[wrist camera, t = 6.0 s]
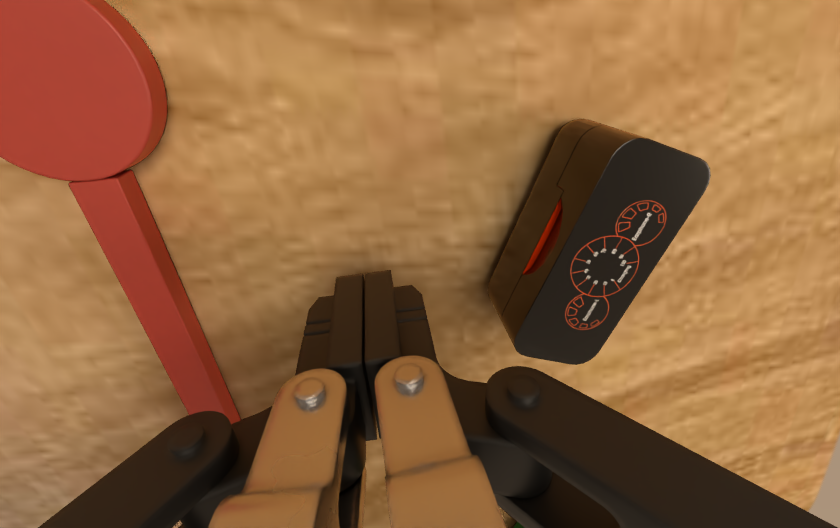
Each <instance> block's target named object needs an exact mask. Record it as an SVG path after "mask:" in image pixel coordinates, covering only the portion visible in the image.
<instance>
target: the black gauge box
mask: <svg viewBox="0 0 840 528" xmlns="http://www.w3.org/2000/svg"><path fill="white" fill-rule="evenodd" d="M710 176H711V175H710V168H709V166H708V164H707V163H706V162H705V161H704V160H702V159H701V158H698V157H696V156H693V155H690V154H688V153H685V152H682V151H680V150H677V149H674V148H672V147H669V146H666V145H664V144H661V143H658V142H656V141H653V140H650V139H647V138H644V137H641V136H638V135H635V134H632V133H629V132H626V131H622V130H619V129H616V128H613V127H610V126H607V125H604V124H601V123H597V122H594V121H591V120H587V119H577V120H572V121H570V122H569V123H567V124H566V125H565V126H564V127H562V129H561V130H560V132H559V133H558V135H557V137H556V139H555V141H554V143H553V145H552V148H551V150H550V152H549V154H548V156H547V158H546V161H545V163H544V165H543V167H542V169H541V171H540V174H539V176H538V178H537V180H536V182H535V184H534V187H533V189H532V191H531V193H530V195H529V197H528V200H527V202H526V204H525V206H524V208H523V210H522V213H521V215H520V217H519V219H518V221H517V223H516V226H515V228H514V230H513V232H512V234H511V236H510V239H509V241H508V243H507V245H506V247H505V249H504V251H503V254H502V256H501V258H500V260H499V262H498V264H497V267H496V269H495V271H494V273H493V275H492V277H491V280H490V282H489V285H488V295H489V297H490V299H491V301H492V303H493V305H494V307H495V309H496V311H497V313H498V315H499V317H500V319H501V321H502V323H503V325H504V327H505V329H506V331H507V333H508V335H509V337H510V339H511V341H512V343H513V345H514V347H515V349H516V351H517V352H519V353H520V354H521V355H524V356H528V357H533V358H539V359H544V360H550V361H555V362H561V363H566V364H575V365H577V364H582V363H585V362H587V361H589V360H591V359H592V358H593V357H595V356H596V354H597V353H598V352H599V351H600V349H601V348H602V346H603V345H604V343H605V342H606V340H607V339H608V337H609V336H610V334H611V333H612V331H613V330H614V328H615V327H616V325H617V324H618V322H619V321H620V319H621V318H622V316H623V314H624V313H625V311H626V310H627V308H628V307H629V305H630V304H631V302H632V301H633V299H634V298H635V296H636V295H637V293H638V292H639V290H640V289H641V287H642V286H643V284H644V283H645V281H646V280H647V278H648V277H649V275H650V274H651V272H652V271H653V269H654V268H655V266H656V265H657V263H658V261H659V260H660V258H661V257H662V255H663V254H664V252H665V251H666V249H667V248H668V246H669V245H670V243H671V242H672V240H673V239H674V237H675V236H676V234H677V233H678V231H679V230H680V228H681V227H682V225H683V224H684V222H685V221H686V219H687V218H688V216H689V215H690V213H691V212H692V210H693V208H694V207H695V205H696V204H697V202H698V201H699V199H700V198H701V196H702V195H703V193H704V192H705V190H706V188H707V186H708V184H709V180H710Z"/></svg>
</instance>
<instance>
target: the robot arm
mask: <svg viewBox="0 0 840 528" xmlns="http://www.w3.org/2000/svg"><path fill="white" fill-rule="evenodd" d="M376 422H377V427H378V432H379V437H380V439H381V440H382V447H383V455H384V463H385V471H386V476H385V482H386V491H387V499H388V507H389V515H390V523H391V528H506V526H505V523H504V521H503V518H502V515H501V512H500V510H499V507H500V508H502V509H503V510H504V511H505V512H506V513H508V514H509V515H510V516H511V517H512V518H514V519H515V520H516V521H517V522H518V523H520V524H521V525H522V526H523V527H525V528H837V527H835V526H833V525H832V524H830V523H828V522H826V521H824V520H822V519H820V518H818V517H816V516H814V515H813V514H810V513H809V512H807V511H805V510H803V509H801V508H799V507H797V506H796V505H794V504H792V503H790V502H788V501H786V500H784V499H782V498H780V497H778V496H777V495H775V494H773V493H771V492H769V491H767V490H765V489H763V488H761V487H759V486H758V485H756V484H754V483H752V482H750V481H748V480H746V479H744V478H742V477H740V476H739V475H737V474H735V473H733V472H731V471H729V470H727V469H725V468H723V467H721V466H720V465H718V464H716V463H714V462H712V461H710V460H708V459H706V458H704V457H702V456H701V455H699V454H697V453H695V452H693V451H691V450H689V449H687V448H685V447H683V446H682V445H680V444H678V443H676V442H674V441H672V440H670V439H668V438H666V437H664V436H663V435H661V434H659V433H657V432H655V431H653V430H651V429H649V428H647V427H645V426H644V425H642V424H640V423H638V422H636V421H634V420H632V419H630V418H628V417H626V416H625V415H623V414H621V413H619V412H617V411H615V410H613V409H611V408H609V407H607V406H606V405H604V404H602V403H600V402H598V401H596V400H594V399H592V398H590V397H588V396H587V395H585V394H583V393H581V392H579V391H577V390H575V389H573V388H571V387H569V386H568V385H566V384H564V383H562V382H560V381H558V380H556V379H554V378H552V377H550V376H549V375H547V374H545V373H543V372H541V371H538V370H536V369H533V368H529V367H521V366H515V367H508V368H504V369H501V370H500V371H498V372H496V373H495V374H493V375H492V376H491V378H490V379H489V380H488V382H487V383H481V382H473V381H466V380H462V379H459V378H456V377H454V376H452V375H450V374H448V373H447V372H446V371H445V370H443V369H442V367H441V366H440V365H439V363H438V361H437V358H436V354H435V350H434V345H433V341H432V337H431V332H430V328H429V323H428V319H427V315H426V310H425V306H424V302H423V297H422V294H421V293H420V292H419V291H418V290H417V289H416V288H415V287H413V286H412V285H409V286H401V287H393V282H392V274H391V270H387V271H379V272H371V273H365V279H364V275H363V274H357V275H349V276H341V277H337V278H336V283H335V291H334V295H333V296H326V297H319V298H318V299H317V301H316V302H315V303H314V304H313V305H312V307H311V308H310V309H309V312H308V316H307V321H306V326H305V330H304V336H303V340H302V345H301V349H300V354H299V359H298V363H297V368H296V373H295V376H294V377H293V378H291V379H290V380H288V381H287V382H286V383H285V384H284V385H283V386H282V387H281V388H280V390H279V391H278V393H277V395H276V398H275V400H274V403H273V406H271V407H269V408H268V409H266V410H264V411H262V412H260V413H258V414H255V415H253V416H250V417H248V418H245V419H243V420H240V421H238V422H235V423H233V424H231V423H230V421H229V419H228V418H227V417H226V416H225V415H224V414H222V413H220V412H216V411H202V412H198V413H194V414H191V415H188V416H186V417H184V418H182V419H180V420H178V421H176V422H175V423H173V424H172V425H170V426H169V427H168V428H166V429H165V430H164V431H162V432H161V433H160V434H158V435H157V436H156V437H155V438H153V439H152V440H151V441H149V442H148V443H147V444H146V445H144V446H143V447H142V448H140V449H139V450H138V451H137V452H135V453H134V454H133V455H131V456H130V457H129V458H127V459H126V460H125V461H124V462H122V463H121V464H120V465H118V466H117V467H116V468H115V469H113V470H112V471H111V472H109V473H108V474H107V475H105V476H104V477H103V478H102V479H100V480H99V481H98V482H96V483H95V484H94V485H93V486H91V487H90V488H89V489H87V490H86V491H85V492H84V493H82V494H81V495H80V496H78V497H77V498H76V499H74V500H73V501H72V502H71V503H69V504H68V505H67V506H65V507H64V508H63V509H62V510H60V511H59V512H58V513H56V514H55V515H54V516H52V517H51V518H50V519H49V520H47V521H46V522H45V523H43V524H42V525H41V526H40V527H38V528H172V527H173V526H174V525H175V524H176V523H177V522H178V521H179V520H180V521H181V522H182V525H181V526H180V527H179V528H363V515H364V502H365V489H366V468H365V462H366V441H369V440H375V439H377V427H376ZM498 506H499V507H498Z"/></svg>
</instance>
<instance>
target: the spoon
mask: <svg viewBox="0 0 840 528" xmlns="http://www.w3.org/2000/svg"><path fill="white" fill-rule="evenodd" d="M166 117H167V98H166V92H165V86H164V83H163V80H162V76H161V73H160V71H159V68H158V66H157V64H156V61H155V60H154V58H153V56H152V54H151V52H150V50H149V49H148V47H147V46H146V44H145V43H144V41H143V40H142V38H141V37H140V35H139V34H138V33H137V32H136V31H135V30H134V28H133V27H132V26H131V25H130V24H129V22H128V21H127V20H126V19H124V18H123V17H122V16H121V15H120V14H119V13H118V12H117V11H116V10H115V9H114V8H113V7H111V6H110V5H109V4H108V3H106V2H105V1H104V0H0V157H2V158H3V159H5V160H7V161H8V162H10V163H12V164H14V165H16V166H18V167H20V168H23V169H25V170H28V171H30V172H33V173H36V174H39V175H42V176H46V177H49V178H54V179H60V180H66V181H72V182H70V183H69V187H70V188H71V190H72V192H73V194H74V196H75V198H76V200H77V202H78V204H79V206H80V208H81V209H82V211H83V213H84V215H85V217H86V219H87V221H88V223H89V225H90V227H91V229H92V230H93V232H94V234H95V236H96V238H97V240H98V242H99V244H100V246H101V248H102V250H103V251H104V253H105V255H106V257H107V259H108V261H109V263H110V265H111V267H112V269H113V271H114V272H115V274H116V276H117V278H118V280H119V282H120V284H121V286H122V288H123V290H124V291H125V293H126V295H127V297H128V299H129V301H130V303H131V305H132V307H133V309H134V311H135V312H136V314H137V316H138V318H139V320H140V322H141V324H142V326H143V328H144V330H145V332H146V333H147V335H148V337H149V339H150V341H151V343H152V345H153V347H154V349H155V351H156V353H157V354H158V356H159V358H160V360H161V362H162V364H163V366H164V368H165V370H166V372H167V374H168V375H169V377H170V379H171V381H172V383H173V385H174V387H175V389H176V391H177V393H178V395H179V396H180V398H181V400H182V402H183V404H184V406H185V408H186V410H187V412H188V414H189V415H191V414H194V413H198V412H202V411H216V412H220V413H222V414H224V415H225V416H226V417H227V418H228V419H229V421H230V423H231V424H233V423H235V422H238V421H240V420H241V419H240V417H239V415H238V412H237V410H236V408H235V405H234V403H233V401H232V398H231V396H230V394H229V392H228V389H227V387H226V385H225V382H224V380H223V378H222V376H221V373H220V371H219V369H218V366H217V364H216V362H215V359H214V357H213V355H212V353H211V350H210V348H209V346H208V343H207V341H206V339H205V336H204V334H203V332H202V330H201V327H200V325H199V323H198V320H197V318H196V316H195V313H194V311H193V309H192V307H191V304H190V302H189V300H188V297H187V295H186V293H185V291H184V288H183V286H182V284H181V281H180V279H179V277H178V274H177V272H176V270H175V268H174V265H173V263H172V261H171V258H170V256H169V254H168V251H167V249H166V247H165V245H164V242H163V240H162V238H161V235H160V233H159V231H158V228H157V226H156V224H155V222H154V219H153V217H152V215H151V212H150V210H149V208H148V206H147V203H146V201H145V199H144V196H143V194H142V192H141V189H140V187H139V185H138V183H137V180H136V178H135V176H134V173H133V171H132V170H127V171H124V170H126V169H127V168H129V167H131V166H133V165H135V164H137V163H139V162H140V161H142V160H143V159H144V158H146V157H147V156H148V155H149V154H150V153H151V152H152V151H153V150H154V148H155V147H156V145H157V144H158V142H159V140H160V138H161V136H162V134H163V131H164V128H165V124H166Z"/></svg>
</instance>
